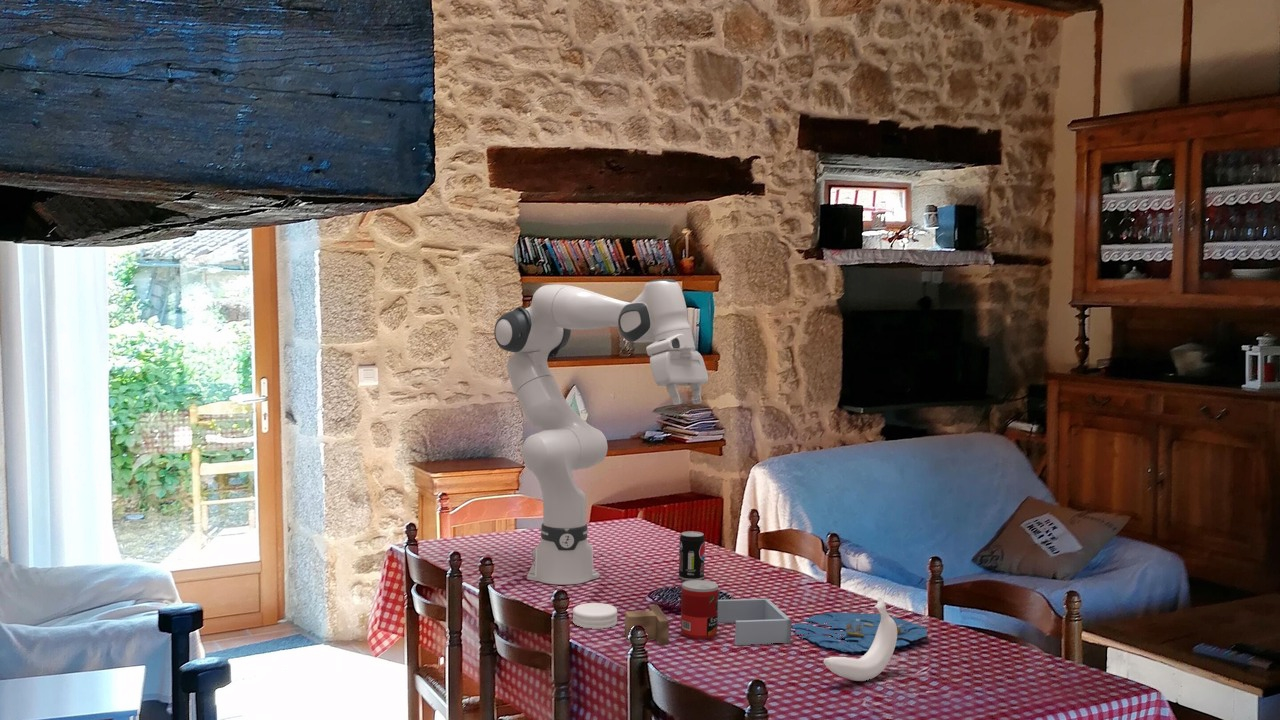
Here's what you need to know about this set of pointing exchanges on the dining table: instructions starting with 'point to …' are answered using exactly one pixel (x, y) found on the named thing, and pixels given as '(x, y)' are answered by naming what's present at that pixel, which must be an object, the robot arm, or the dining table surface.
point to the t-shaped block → (649, 623)
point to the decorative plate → (854, 630)
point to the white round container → (595, 615)
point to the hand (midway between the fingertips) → (687, 404)
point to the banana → (869, 652)
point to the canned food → (699, 609)
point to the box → (755, 621)
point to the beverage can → (691, 556)
